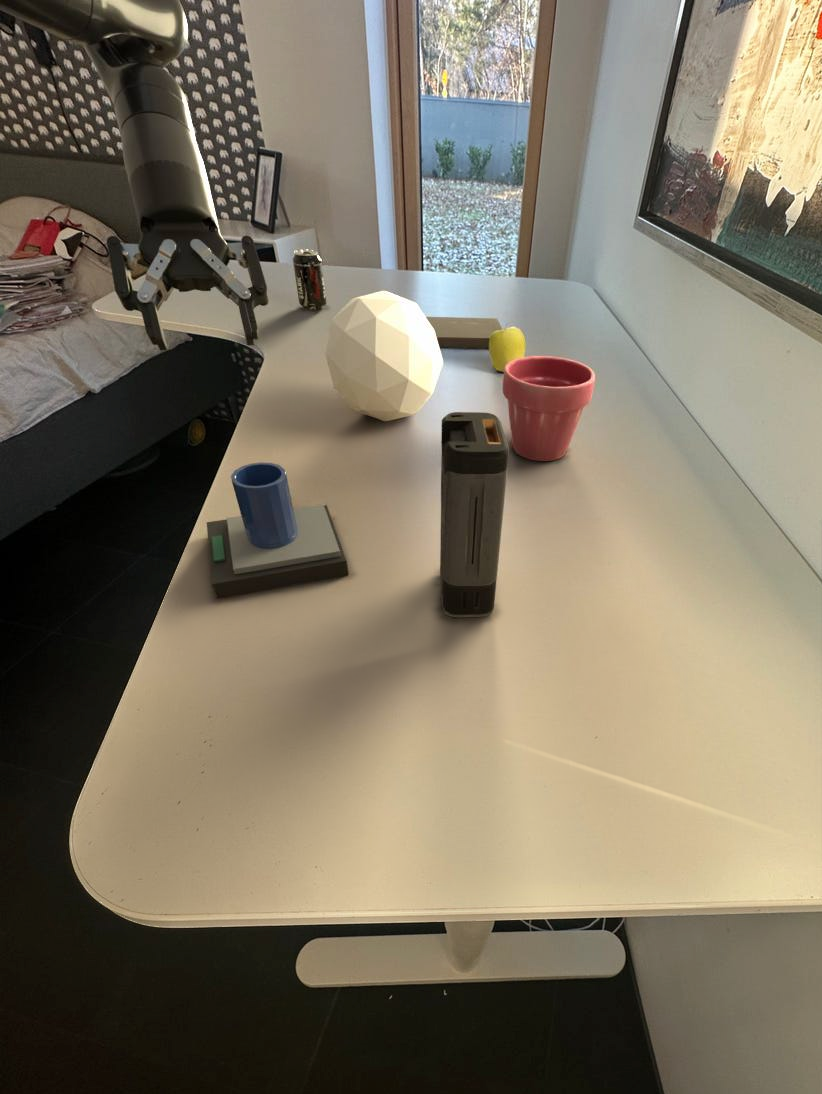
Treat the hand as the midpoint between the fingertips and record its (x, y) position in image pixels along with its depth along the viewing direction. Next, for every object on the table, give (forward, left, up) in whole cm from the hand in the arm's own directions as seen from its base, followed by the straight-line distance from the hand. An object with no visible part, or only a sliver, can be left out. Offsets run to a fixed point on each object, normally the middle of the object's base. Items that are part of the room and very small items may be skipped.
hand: (207, 344), depth 59 cm
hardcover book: (+52, +69, -23) cm, 90 cm away
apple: (+56, +47, -23) cm, 77 cm away
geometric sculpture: (+26, +31, -23) cm, 47 cm away
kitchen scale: (+2, -7, -23) cm, 24 cm away
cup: (+2, -7, -20) cm, 21 cm away
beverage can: (+24, +99, -23) cm, 105 cm away
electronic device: (+22, -21, -23) cm, 38 cm away
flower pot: (+47, +11, -23) cm, 53 cm away
